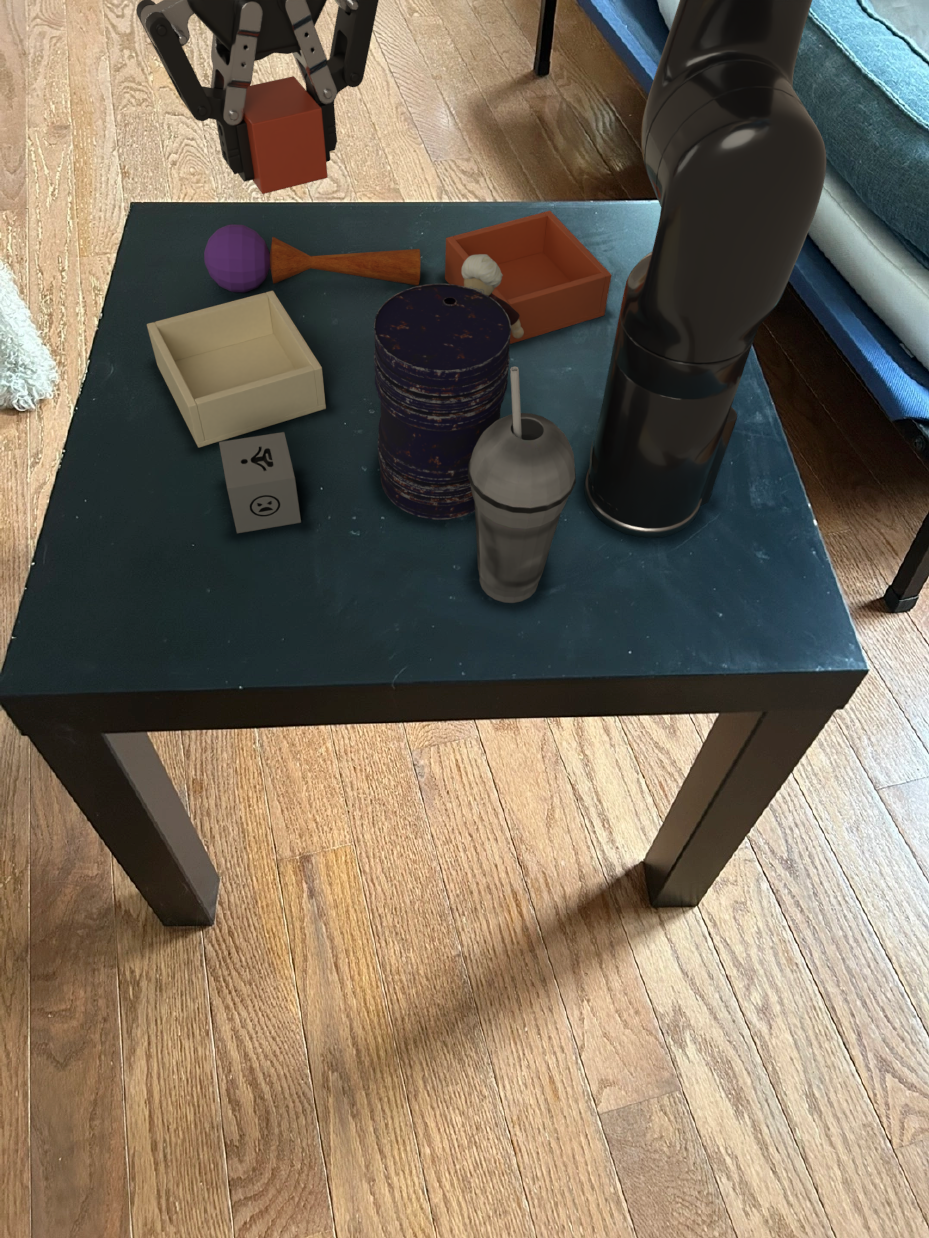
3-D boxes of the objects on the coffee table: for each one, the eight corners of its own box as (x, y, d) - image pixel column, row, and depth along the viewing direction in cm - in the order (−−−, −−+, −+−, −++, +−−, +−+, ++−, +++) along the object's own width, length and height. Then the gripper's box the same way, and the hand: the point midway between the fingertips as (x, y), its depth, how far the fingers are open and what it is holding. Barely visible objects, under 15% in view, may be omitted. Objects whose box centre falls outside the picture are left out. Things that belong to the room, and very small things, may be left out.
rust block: (301, 145, 65) (293, 75, 61) (328, 178, 63) (322, 108, 59) (237, 160, 64) (225, 90, 60) (262, 195, 61) (251, 124, 58)
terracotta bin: (545, 251, 101) (550, 210, 97) (604, 315, 95) (612, 274, 92) (444, 278, 98) (445, 237, 94) (499, 347, 92) (503, 306, 88)
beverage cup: (548, 626, 73) (586, 423, 57) (452, 607, 74) (462, 402, 58) (563, 552, 78) (601, 343, 61) (471, 535, 78) (485, 324, 62)
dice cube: (301, 522, 78) (294, 477, 74) (237, 533, 77) (227, 488, 73) (290, 477, 81) (284, 432, 77) (228, 487, 80) (218, 442, 76)
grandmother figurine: (431, 396, 88) (433, 270, 77) (431, 367, 90) (433, 241, 80) (518, 397, 88) (532, 273, 78) (516, 368, 90) (529, 244, 80)
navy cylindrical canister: (488, 529, 79) (501, 382, 67) (366, 511, 79) (357, 361, 67) (506, 442, 84) (521, 292, 72) (393, 425, 85) (389, 274, 73)
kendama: (423, 267, 92) (200, 257, 89) (417, 313, 97) (206, 304, 94) (419, 220, 94) (203, 208, 91) (414, 267, 100) (209, 257, 97)
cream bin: (278, 332, 92) (272, 290, 88) (326, 408, 86) (322, 367, 82) (157, 365, 89) (146, 323, 85) (198, 448, 83) (188, 406, 79)
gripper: (119, -118, 45) (193, 224, 59) (404, -161, 49) (410, 169, 63) (75, -171, 49) (154, 163, 63) (343, -206, 53) (361, 114, 67)
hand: (282, 164), depth 63 cm, fingers closed on rust block, 4 cm apart
